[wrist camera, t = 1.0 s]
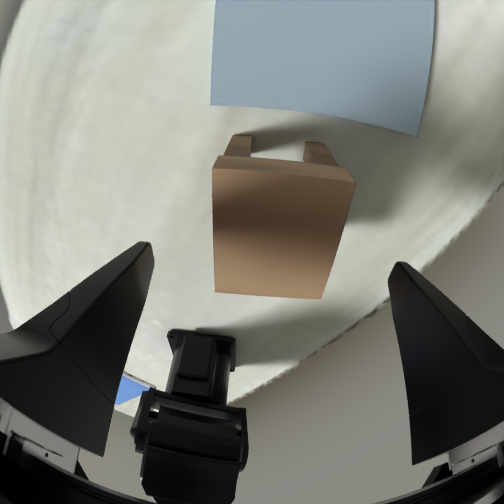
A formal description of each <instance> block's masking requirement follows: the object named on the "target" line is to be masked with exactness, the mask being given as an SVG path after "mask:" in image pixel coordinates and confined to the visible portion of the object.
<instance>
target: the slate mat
mask: <svg viewBox="0 0 504 504" xmlns="http://www.w3.org/2000/svg"><path fill="white" fill-rule="evenodd" d="M434 3H435V0H216V5H215V18H214V33H213V50H212V71H211V101H210V105H221V106H247V107H262V108H273V109H283V110H292V111H300V112H308V113H315V114H321V115H327V116H333V117H338V118H344V119H349V120H354V121H358V122H363V123H367V124H372V125H376V126H380V127H384V128H388V129H391V130H395V131H399V132H402V133H406V134H409V135H412V136H416V137H417V134H418V130H419V125H420V121H421V116H422V111H423V106H424V101H425V96H426V90H427V84H428V77H429V70H430V63H431V54H432V44H433V31H434Z"/></svg>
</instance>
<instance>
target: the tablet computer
mask: <svg viewBox="0 0 504 504" xmlns="http://www.w3.org/2000/svg"><path fill="white" fill-rule="evenodd" d="M150 387H153V388H155V387H154V386H153V385H151V384H149V383H147V382H144V381H142V380H140V379H138V378H136V377H134V376H132V375H130V374H128V373H126V372H124V371H123V375H122V378H121V382H120V386H119V389H118V393H117V397H116V401H115V404H117V405H120V404H123V403H125V402H127V401H130V400H132V399H135V398H137V397H139V396H141V395H142V391H149V388H150Z"/></svg>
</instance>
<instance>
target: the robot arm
mask: <svg viewBox="0 0 504 504" xmlns="http://www.w3.org/2000/svg"><path fill="white" fill-rule="evenodd" d="M153 269H154V256H153V251H152V246H151V243H149V242H142V241H140V242H138V243H136V244H135V245H133V246H132V247H130V248H129V249H127V250H126V251H124V252H123V253H121V254H120V255H118V256H117V257H116V258H114V259H113V260H111V261H110V262H108V263H107V264H106V265H104V266H103V267H101V268H100V269H98V270H97V271H96V272H94V273H93V274H92V275H90V276H89V277H87V278H86V279H85V280H83V281H82V282H81V283H79V284H78V285H77V286H75V287H74V288H73V289H71V290H70V291H68V292H67V293H66V294H65V295H63V296H62V297H61V298H59V299H58V300H57V301H55V302H54V303H53V304H51V305H50V306H48V307H47V308H46V309H44V310H43V311H41V312H40V313H38V314H37V315H35V316H34V317H32V318H31V319H30V320H28V321H27V322H25V323H24V324H22V325H21V326H20V327H18V328H17V329H15V330H13V331H11V332H8V333H3V334H0V504H231V503H232V502H233V501H234V499H235V491H236V483H237V478H238V474H239V472H241V471H243V469H244V467H245V465H246V463H247V458H248V449H249V446H248V432H247V419H246V408H243V407H239V408H237V407H231V406H226V403H227V393H228V383H229V374H230V372H234V371H235V353H236V340H235V339H234V338H231V337H221V336H211V335H202V334H193V333H185V332H178V331H168V334H167V338H168V341H169V344H170V347H171V350H172V353H173V360H172V364H171V368H170V373H169V377H168V381H167V386H166V390H165V392H163V391H160V390H156V388H153V387H150V388H149V391H142V395H141V399H140V403H139V406H138V410H137V412H136V415H135V418H134V421H133V424H132V427H131V430H130V434H131V435H132V437H133V438H134V444H135V445H136V447H135V451H136V452H137V453H141V454H143V459H142V465H141V472H140V477H141V480H142V486H143V488H144V491H145V493H146V495H148V496H151V498H152V500H153V502H154V503H153V502H149V501H146V500H142V499H138V498H135V497H132V496H129V495H126V494H123V493H120V492H117V491H114V490H111V489H108V488H106V487H103V486H100V485H98V484H96V483H93V482H91V481H89V479H88V478H87V476H86V474H85V472H84V471H83V469H82V467H81V465H80V463H79V462H78V460H77V459H78V455H79V450H80V448H81V449H83V450H85V451H88V452H91V453H93V454H95V455H98V456H101V457H103V455H104V451H105V446H106V441H107V436H108V432H109V427H110V422H111V418H112V414H113V410H114V404H115V401H116V397H117V393H118V389H119V386H120V382H121V378H122V375H123V371H124V368H125V364H126V361H127V357H128V354H129V351H130V347H131V344H132V341H133V338H134V335H135V332H136V329H137V325H138V322H139V319H140V317H141V314H142V311H143V308H144V305H145V302H146V298H147V293H148V289H149V285H150V281H151V277H152V273H153ZM388 287H389V293H390V300H391V307H392V314H393V320H394V325H395V329H396V334H397V338H398V344H399V349H400V354H401V359H402V365H403V372H404V378H405V385H406V392H407V400H408V409H409V415H410V416H409V419H410V431H411V432H410V433H411V450H412V465H416V464H419V463H422V462H425V461H428V460H430V459H433V458H436V457H438V456H441V455H444V454H446V453H447V457H448V462H446V463H444V464H441V465H439V466H437V467H434V468H433V470H432V472H431V474H430V475H429V477H428V479H427V480H426V482H425V483H424V485H423V487H422V488H421V489H419V490H416V491H413V492H410V493H407V494H405V495H401V496H398V497H395V498H391V499H388V500H384V501H381V502H377V503H373V504H504V349H502V348H501V347H500V346H499V345H498V344H497V343H496V342H495V341H494V340H493V339H491V338H490V337H489V336H488V335H487V334H486V333H485V332H484V331H483V330H482V329H481V328H480V327H479V326H477V325H476V324H475V323H474V322H473V321H472V320H471V319H470V318H469V317H468V316H466V314H465V313H464V312H463V311H462V310H461V309H460V308H459V307H457V306H456V305H455V304H454V303H453V302H452V301H451V300H450V299H449V298H448V297H447V296H445V295H444V294H443V293H442V292H441V291H440V290H439V289H438V288H436V287H435V286H434V285H433V284H432V283H431V282H430V281H428V280H427V279H426V278H425V277H424V276H423V275H421V274H420V273H419V272H418V271H417V270H415V269H414V268H413V267H412V266H410V265H409V264H408V263H407V262H400V261H398V262H396V263H395V265H394V267H393V269H392V271H391V273H390V275H389V278H388ZM153 409H158V410H159V413H158V412H155V411H153Z"/></svg>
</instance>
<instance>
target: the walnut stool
mask: <svg viewBox="0 0 504 504" xmlns="http://www.w3.org/2000/svg"><path fill="white" fill-rule="evenodd" d="M251 143H252V136H240V135H233V136H232V138H231V140H230V142H229V144H228V146H227V149H226V151H225V153H224V155H223V156H218V158H217V160H216V162H215V164H214V166H213V168H212V204H213V249H214V277H215V292H219V293H231V294H243V295H256V296H270V297H286V298H303V299H321V298H322V295H323V292H324V289H325V286H326V283H327V280H328V277H329V274H330V271H331V268H332V265H333V262H334V259H335V256H336V253H337V249H338V246H339V243H340V240H341V236H342V233H343V229H344V226H345V222H346V219H347V215H348V212H349V208H350V204H351V201H352V197H353V193H354V189H355V185H356V182H355V180H354V179H353V177H352V176H351V174H350V173H349V172H348V170H347V169H346V168H341V167H339V166H338V164H337V163H336V161H335V160H334V158H333V157H332V155H331V154H330V152H329V151H328V149H327V148H326V147H325V145H324V144H320V143H313V142H305V148H304V155H303V160H304V162H296V161H287V160H277V159H266V158H254V157H250V156H251Z"/></svg>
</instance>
